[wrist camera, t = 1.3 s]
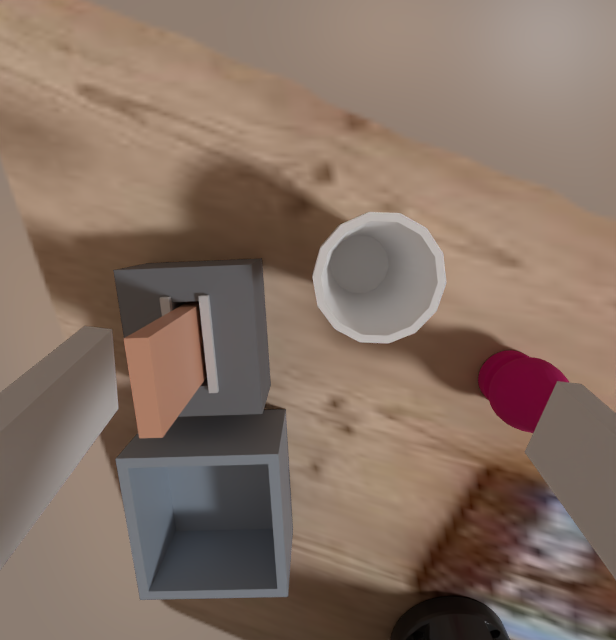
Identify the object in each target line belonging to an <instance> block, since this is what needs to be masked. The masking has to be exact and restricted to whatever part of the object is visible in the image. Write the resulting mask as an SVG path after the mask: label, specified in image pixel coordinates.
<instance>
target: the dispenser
mask: <svg viewBox="0 0 616 640" xmlns="http://www.w3.org/2000/svg"><path fill="white" fill-rule="evenodd" d="M114 277H115V283H116V289H117V296H118V302H119V309H120V315H121V321H122V328H123V334H124V338H125V337H127V336H129V335H131V334H132V333H134V332H136V331H138V330H139V329H141V328H143V327H145V326H146V325H148V324H150V323H152V322H153V321H155V320H157V319H159V318H160V317H162V316H164V315H165V314H167V313H169V312H171V311H172V310H174V309H176V308H178V307H179V306H181V305H183V304H185V303H186V302H188V301H199V307H200V316H201V325H202V334H203V343H204V353H205V362H206V371H207V377H206V379H205V380H204V382H203V383H202V384H201V386H200V387H199V388H198V390H197V391H196V393H195V394H194V395H193V397H192V398H191V399H190V401H189V402H188V404H187V405H186V406H185V408H184V409H183V410H182V412H181V413H180V415H179V416H178V417H184V416H216V415H247V414H263V411H264V407H265V403H266V400H267V396H268V393H269V389H270V386H271V382H270V368H269V353H268V339H267V324H266V310H265V295H264V281H263V266H262V258H261V259H237V260H214V261H190V262H166V263H146V264H142V265H137V266H132V267H127V268H122V269H117V270H114Z"/></svg>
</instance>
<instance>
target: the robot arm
mask: <svg viewBox="0 0 616 640" xmlns="http://www.w3.org/2000/svg"><path fill="white" fill-rule="evenodd" d="M117 410H118V396H117V383H116V371H115V358H114V346H113V333H112V329H107V328H98V327H90V326H84V327H82V328H81V329H80V330H79V331H77V332H76V333H75V334H74V335H72V336H71V337H70V338H69V339H67V340H66V341H65V342H64V343H62V344H61V345H60V346H59V347H57V348H56V349H55V350H53V351H52V352H51V353H50V354H48V356H46V357H45V358H43V359H42V360H41V361H39V362H38V363H37V364H36V365H35V366H33V367H32V368H31V369H29V370H28V371H27V372H26V373H24V374H23V375H22V376H21V377H19V378H18V379H17V380H16V381H14V382H13V383H12V384H10V385H9V386H8V387H7V388H5V389H4V390H3V391H2V392H0V570H1V569H2V567H3V566H4V565H5V563H6V562H7V560H8V559H9V558H10V556H11V555H12V554H13V552H14V551H15V550H16V548H17V547H18V545H19V544H20V543H21V541H22V540H23V539H24V537H25V536H26V535H27V533H28V532H29V530H30V529H31V528H32V526H33V525H34V524H35V522H36V521H37V520H38V518H39V516H40V515H41V514H42V513H43V511H44V510H45V508H46V507H47V506H48V504H49V503H50V502H51V500H52V499H53V498H54V496H55V495H56V494H57V492H58V491H59V489H60V488H61V487H62V485H63V484H64V483H65V481H66V480H67V478H68V477H69V476H70V474H71V473H72V472H73V470H74V469H75V468H76V466H77V465H78V463H79V462H80V461H81V459H82V458H83V457H84V455H85V454H86V452H87V451H88V450H89V448H90V447H91V445H92V444H93V443H94V441H95V440H96V439H97V437H98V436H99V435H100V433H101V432H102V431H103V429H104V428H105V426H106V425H107V424H108V422H109V421H110V420H111V418H112V417H113V416H114V414H115V413H116V411H117ZM525 453H526V455H527V456H528V457H529V459H530V460H531V462H532V463H533V464H534V466H535V467H536V469H537V470H538V471H539V473H540V474H541V476H542V477H543V478H544V480H545V481H546V483H547V484H548V485H549V487H550V488H551V490H552V491H553V492H554V494H555V495H556V497H557V498H558V499H559V501H560V502H561V504H562V505H563V506H564V508H565V509H566V511H567V512H568V513H569V515H570V516H571V518H572V519H573V520H574V522H575V523H576V525H577V526H578V528H579V529H580V530H581V532H582V533H583V535H584V536H585V537H586V539H587V540H588V542H589V543H590V544H591V546H592V547H593V549H594V550H595V551H596V553H597V554H598V556H599V557H600V558H601V560H602V561H603V563H604V564H605V565H606V567H607V568H608V570H609V571H610V572H611V574H612V575H613V577H614V578H615V579H616V413H615V412H614V411H612V410H611V409H610V408H609V407H608V406H607V405H605V404H604V403H603V402H602V401H601V400H600V399H598V398H597V397H596V396H595V395H594V394H593V393H591V392H590V391H589V390H588V389H587V388H586V387H585V386H583V385H582V384H577V383H569V382H560V381H557V383H556V385H555V387H554V389H553V392H552V394H551V396H550V398H549V400H548V402H547V405H546V407H545V409H544V411H543V413H542V415H541V418H540V420H539V422H538V424H537V426H536V428H535V431H534V433H533V435H532V437H531V439H530V442H529V444H528V446H527V448H526V450H525ZM391 640H510V638H509V636H508V634H507V632H506V630H505V628H504V626H503V624H502V622H501V620H500V618H499V617H498V616H497V615H496V614H495V613H494V612H493V611H492V610H491V609H490V608H488V607H487V606H485V605H484V604H482V603H480V602H477V601H475V600H472V599H468V598H463V597H440V598H435V599H431V600H428V601H425V602H423V603H420V604H418V605H416V606H415V607H413V608H412V609H410V610H409V611H408V612H406V613H405V614H404V615H403V616H402V617H401V618H400V620H399V621H398V622H397V624H396V625H395V627H394V629H393V632H392V635H391Z"/></svg>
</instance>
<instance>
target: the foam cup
mask: <svg viewBox="0 0 616 640" xmlns="http://www.w3.org/2000/svg"><path fill="white" fill-rule="evenodd" d="M312 278H313V283H314V289H315V294H316V300H317V305H318V307H319V309H320V310H321V311H322V313H323V314H324V315H325V317H326V318H327V319H328V321H329V322H330V323H331V325H332V326H333V328H334V329H335V330H337V331H339V332H341V333H343V334H345V335H347V336H349V337H351V338H353V339H354V340H356V341H358V342H365V343H387V344H389V343H391V342H394V341H396V340H399V339H401V338H404V337H406V336H409V335H411V334H414V333H416V332H417V331H418V330H419V329H420V328H421V327H422V326H423V325H424V324H425V323H426V322H427V320H428V319H429V318H430V317H431V316H432V315H433V314H434V313H435V312H436V311H437V308H438V305H439V303H440V300H441V297H442V294H443V291H444V289H445V286H446V274H445V265H444V255H443V252H442V251H441V249H440V248H439V246H438V245H437V243H436V241H435V240H434V238H433V237H432V235H431V234H430V232H429V231H428V229H427V228H426V227H424V226H422V225H420V224H419V223H417V222H415V221H413V220H411V219H410V218H408V217H406V216H404V215H403V214H401V213H382V212H368V213H365V214H363V215H360V216H358V217H356V218H353V219H351V220H349V221H347V222H344V223H342V224H340V225H338V226H337V228H336V229H335V230H334V231H333V232H332V233H331V235H330V236H329V237H328V238H327V239H326V240H325V242H324V243H323V244H322V245H321V246H320V249H319V252H318V256H317V259H316V263H315V267H314V270H313V276H312Z"/></svg>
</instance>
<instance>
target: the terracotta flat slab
mask: <svg viewBox="0 0 616 640" xmlns="http://www.w3.org/2000/svg"><path fill="white" fill-rule="evenodd" d="M124 345H125V351H126V357H127V364H128V370H129V376H130V383H131V389H132V396H133V402H134V408H135V415H136V421H137V427H138V434H139V438H163V437H164V435H165V434H166V432H167V431H168V430H169V428H170V427H171V426H172V424H173V423H174V421H175V420H176V419H177V417H178V416H179V415H180V413H181V412H182V410H183V409H184V408H185V406H186V405H187V404H188V402H189V401H190V399H191V398H192V397H193V395H194V394H195V393H196V391H197V390H198V388H199V387H200V386H201V384H202V383H203V382H204V380H205V379H206V377H207V371H206V362H205V353H204V343H203V334H202V325H201V316H200V307H199V301H188V302H186V303H185V304H183V305H181V306H179V307H178V308H176V309H174V310H172V311H171V312H169V313H167V314H165V315H164V316H162V317H160V318H159V319H157V320H155V321H153V322H152V323H150V324H148V325H146V326H145V327H143V328H141V329H139V330H138V331H136V332H134V333H132V334H131V335H129V336H127V337H125V338H124Z"/></svg>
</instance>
